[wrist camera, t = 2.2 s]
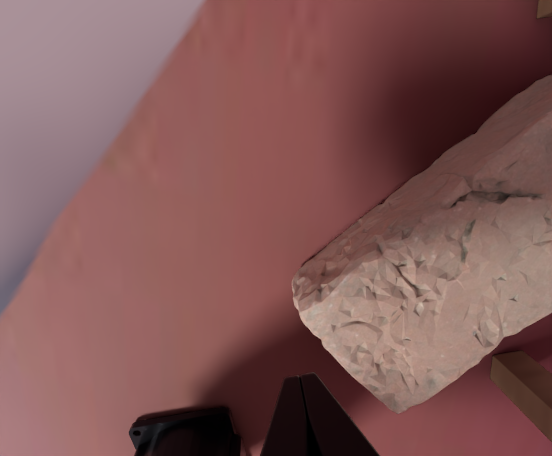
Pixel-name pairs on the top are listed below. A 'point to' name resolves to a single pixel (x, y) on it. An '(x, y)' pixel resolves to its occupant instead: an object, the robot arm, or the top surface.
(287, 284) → the top surface
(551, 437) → the shelf frame
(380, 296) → the brick
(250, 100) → the top surface
